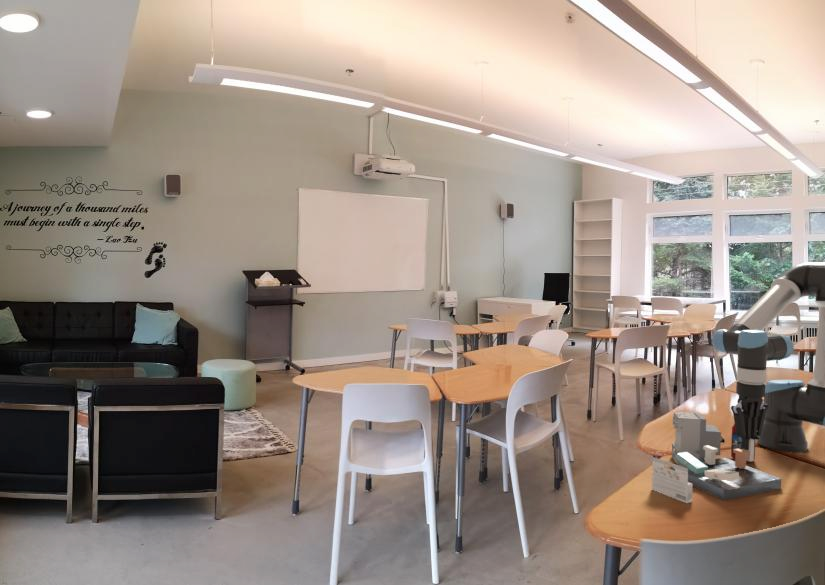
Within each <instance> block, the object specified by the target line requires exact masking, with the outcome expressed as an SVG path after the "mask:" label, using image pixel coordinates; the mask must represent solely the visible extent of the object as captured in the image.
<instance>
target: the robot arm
mask: <svg viewBox="0 0 825 585" xmlns="http://www.w3.org/2000/svg"><path fill="white" fill-rule="evenodd" d="M802 297H815V303H816V304H817V305H818V306H819V307H820V308H819V317H818V326H817V338H816V347H815V348H816V349H815V358H814V367H813V376H812V379H809V381H807V382H806V383H807V384H805V382H804V381H803V380H798V379H773V380H772V379H771V380H768V381H767V362H770V361H781V360H784V359H787V358H790V357H791V356H792V354H793V352H794V349H795V348H794V347H795V346H794V342H793V341H792V339H791V338H790V337H789V336H787V335H784V334H776V333H775V334H768V332H766V331H764V330H765V329H766V328H767V327H768V326H769V325H770V324H771V323H772V322H773V321H774V320H775V319H776V318H777V317H778V316H779V315H780V314H781V313H783V311H784V310H785V309H786V308H787V307H788V306H789V305H790V304H791V303H795V302H797V301H798V300H799V299H800V298H802ZM711 341H712V345H713V348H714V349H715V350H716V351H717V352H721V353H725V354H730V355H737V372H736V380H737V382H736V386H735V388H736V389H735V390H736V391H735V392H736V394H737V395H738V399H737V404H736V405H731V406H730V410H731V411H732V414H733V420H734V424H735V429H736V435H737V436H739V437H741V438H742V450H744V451H747V452H749V456H746V460H747V461H751V462H754V461H755V459H754V448H755V449H756V443H757V444H759V445H760V446H762V447H764V448H767V449H771V450H776V451H779V452H780V451H781V452H790V453H800V452H806V451H807V450H808V447H809V446H808V443H809V442H808V440H807V437H806V434H805V431H804V430H805V429H804V428H803V422H804V423H808V424H809V423H810V424H813V425H818V426H823V427H825V261H821V262H819V261H808V262H804V263H799V264H797V265H795V266H793V267H790V269H787V270H786V271H783V272H782V273H781V274H780V275H778V276H777V277H776V278H775V279H773V281H772V282H771V285H770V288H769V289H768V290H767V291H766V292H765V293H764V294H763V295H762V296H761V297H760V298H759V299H758V300H757V301H756V302H755V303H754V304H752V306H751V307H750V308H749V309H748V310H747V311H746V312H744V314H743V315H742V316H741V317H740V318H739V319H737V321H736V322H735V323H734V324H733V325H732V326H730V327H729V328H728V329H726V328H723V329H722V328H721V329H718V330H716V331H715V332H714V334H713V335H712V340H711Z"/></svg>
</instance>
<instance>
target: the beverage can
mask: <svg viewBox="0 0 825 585" xmlns="http://www.w3.org/2000/svg"><path fill="white" fill-rule="evenodd" d="M730 444H731V445H730V446H731V449H730V450H731V451H730V457H731V458H733V459H734V460H735V454H736V453H733V449H741V450H742V438H741V437H739V436H737V435H736V429H735V423H734V424H733V425H732V426H731V443H730ZM755 457H756V447H755V448H754V460H755V459H756V458H755ZM747 463H748V464H749V463H752V461H747V460H746V464H747Z"/></svg>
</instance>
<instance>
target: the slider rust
mask: <svg viewBox="0 0 825 585" xmlns="http://www.w3.org/2000/svg"><path fill="white" fill-rule="evenodd" d="M733 453H736V454H735V459H734V461H735V467H738V468H741V469H742V468H746V466H747V463H746V456H749V452H747V451H744V450H741V449H733Z"/></svg>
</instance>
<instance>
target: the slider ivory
mask: <svg viewBox="0 0 825 585" xmlns="http://www.w3.org/2000/svg"><path fill="white" fill-rule="evenodd" d="M703 449H704V450H705V459H704V460H705V463H707V464H709V465H713V464H715V459H716V457H717V455H716V452H718V449H717V448H714V447H712V446H709V445H706V446H703Z"/></svg>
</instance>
